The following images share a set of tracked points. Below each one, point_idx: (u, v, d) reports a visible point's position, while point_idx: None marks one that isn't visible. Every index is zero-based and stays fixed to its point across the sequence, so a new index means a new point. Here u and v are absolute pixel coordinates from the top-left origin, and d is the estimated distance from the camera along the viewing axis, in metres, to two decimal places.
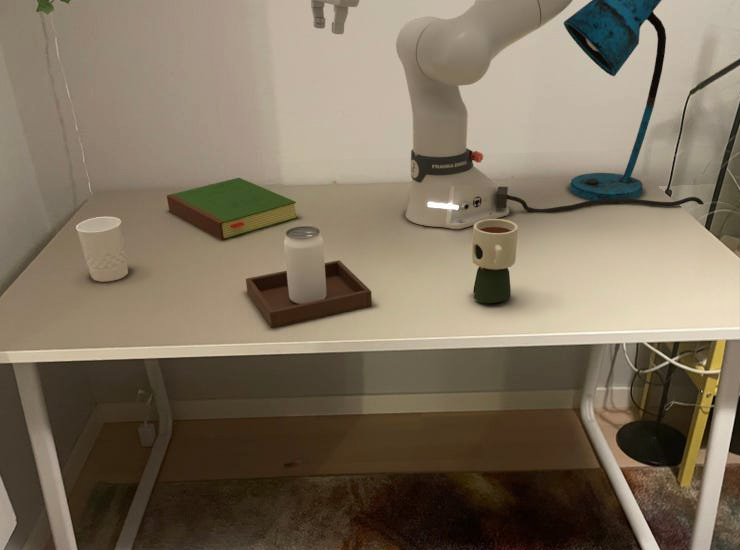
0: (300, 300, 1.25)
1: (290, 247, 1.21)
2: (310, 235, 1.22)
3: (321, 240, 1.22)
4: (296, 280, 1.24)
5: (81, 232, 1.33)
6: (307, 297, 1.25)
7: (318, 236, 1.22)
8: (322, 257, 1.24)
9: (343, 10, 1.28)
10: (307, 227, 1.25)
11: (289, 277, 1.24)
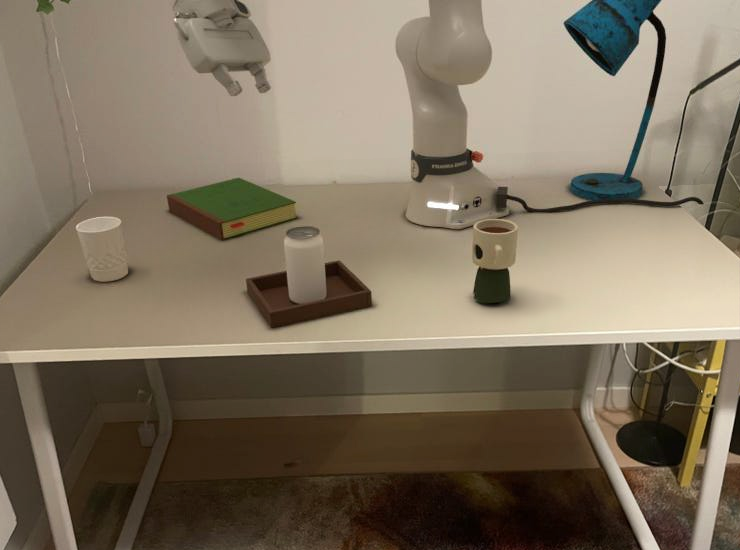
0: (300, 300, 1.25)
1: (290, 247, 1.21)
2: (310, 235, 1.22)
3: (321, 240, 1.22)
4: (296, 280, 1.24)
5: (81, 232, 1.33)
6: (307, 297, 1.25)
7: (318, 236, 1.22)
8: (322, 257, 1.24)
9: (219, 71, 1.16)
10: (307, 227, 1.25)
11: (289, 277, 1.24)
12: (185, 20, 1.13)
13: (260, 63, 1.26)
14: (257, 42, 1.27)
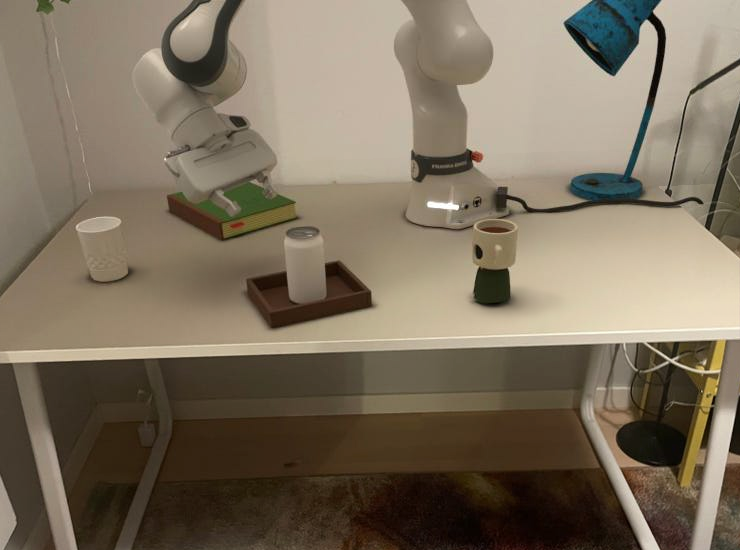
0: (300, 300, 1.25)
1: (290, 247, 1.21)
2: (310, 235, 1.22)
3: (321, 240, 1.22)
4: (296, 280, 1.24)
5: (81, 232, 1.33)
6: (307, 297, 1.25)
7: (318, 236, 1.22)
8: (322, 257, 1.24)
9: (215, 197, 1.21)
10: (307, 227, 1.25)
11: (289, 277, 1.24)
12: (176, 157, 1.19)
13: (265, 170, 1.29)
14: (260, 149, 1.29)
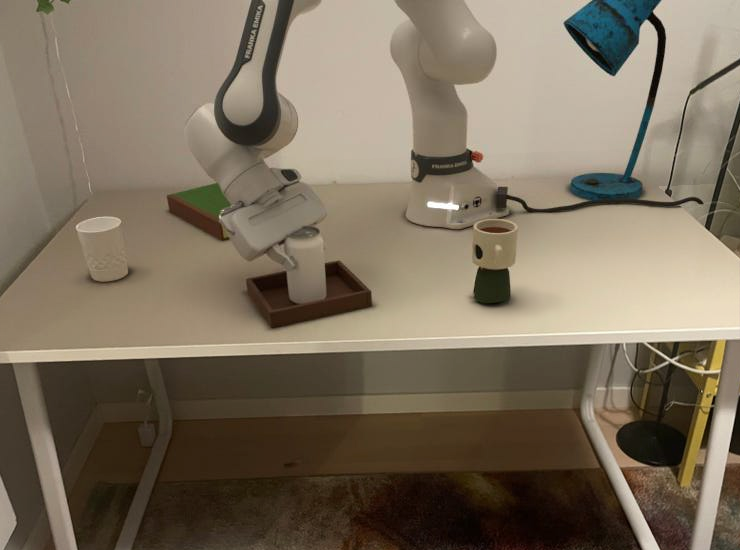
0: (300, 301, 1.25)
1: (290, 247, 1.21)
2: (310, 235, 1.22)
3: (321, 240, 1.22)
4: (296, 280, 1.24)
5: (81, 232, 1.33)
6: (307, 297, 1.25)
7: (318, 236, 1.22)
8: (322, 257, 1.24)
9: (272, 252, 1.20)
10: (307, 227, 1.25)
11: (289, 277, 1.24)
12: (231, 214, 1.18)
13: (316, 223, 1.28)
14: (311, 202, 1.29)
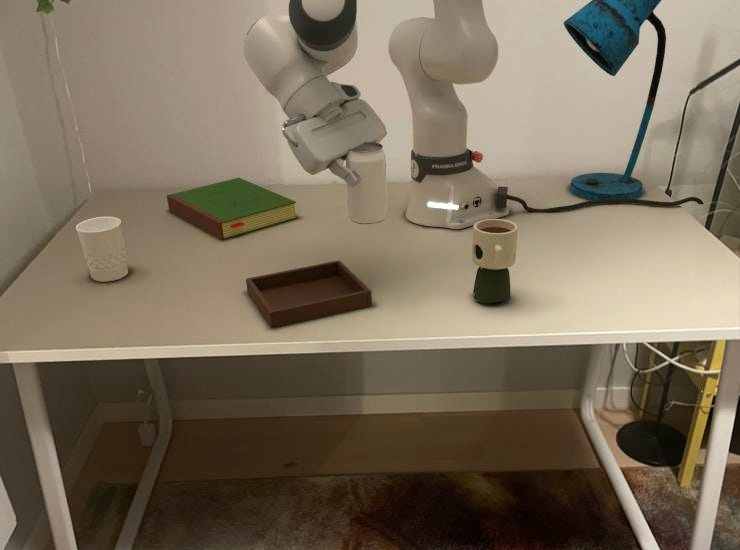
0: (361, 219, 1.22)
1: (353, 161, 1.18)
2: (373, 149, 1.19)
3: (384, 155, 1.19)
4: (358, 197, 1.21)
5: (81, 232, 1.33)
6: (369, 215, 1.22)
7: (381, 150, 1.19)
8: (384, 173, 1.20)
9: (335, 166, 1.17)
10: (368, 144, 1.22)
11: (350, 194, 1.21)
12: (293, 126, 1.15)
13: (376, 141, 1.25)
14: (370, 119, 1.25)
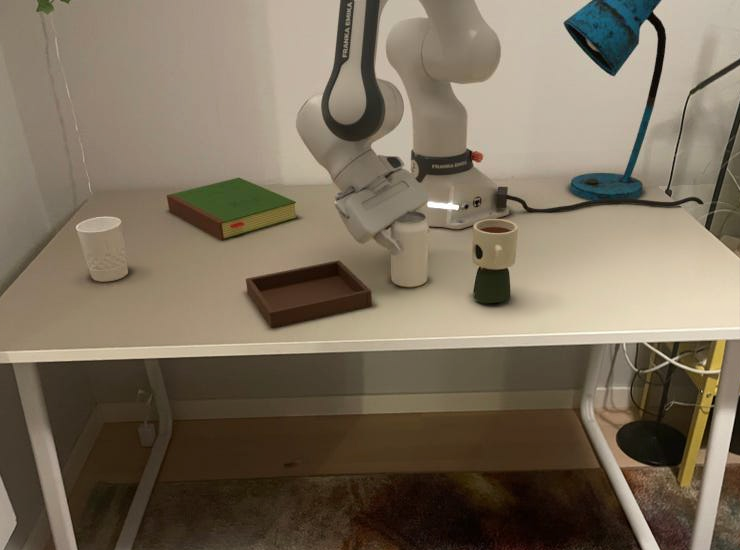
0: (404, 283, 1.31)
1: (398, 231, 1.26)
2: (417, 220, 1.27)
3: (427, 224, 1.28)
4: (401, 263, 1.29)
5: (81, 232, 1.33)
6: (411, 279, 1.30)
7: (424, 221, 1.27)
8: (427, 241, 1.29)
9: (380, 237, 1.25)
10: (411, 213, 1.30)
11: (394, 260, 1.30)
12: (344, 199, 1.24)
13: (418, 208, 1.34)
14: (413, 188, 1.34)
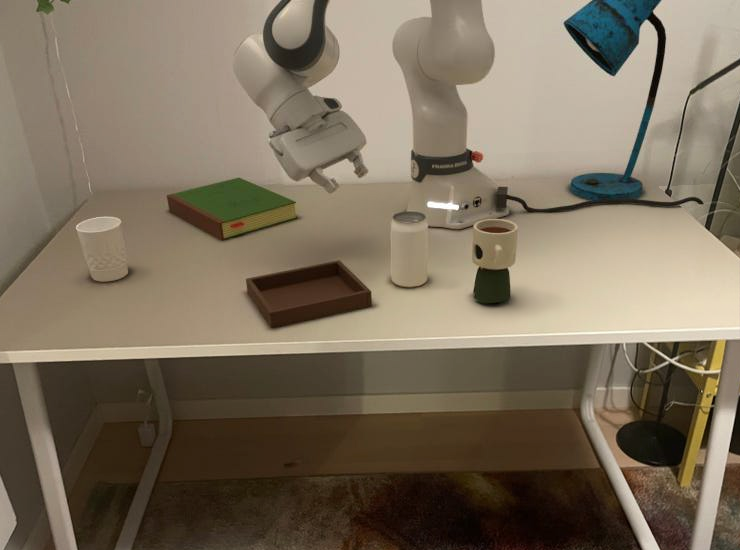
0: (404, 283, 1.31)
1: (398, 231, 1.26)
2: (417, 220, 1.27)
3: (427, 224, 1.28)
4: (401, 263, 1.29)
5: (81, 232, 1.33)
6: (411, 279, 1.30)
7: (424, 221, 1.27)
8: (427, 241, 1.29)
9: (314, 175, 1.27)
10: (411, 213, 1.30)
11: (394, 260, 1.30)
12: (278, 137, 1.26)
13: (356, 150, 1.35)
14: (351, 130, 1.36)
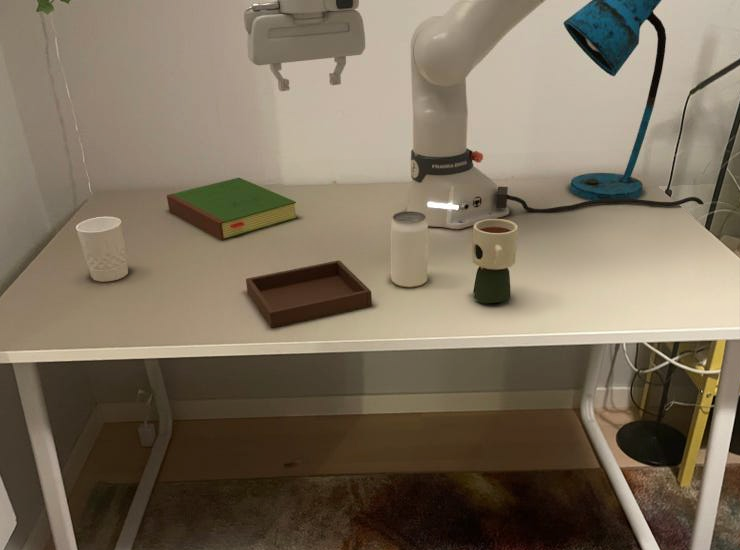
0: (404, 283, 1.31)
1: (398, 231, 1.26)
2: (417, 220, 1.27)
3: (427, 224, 1.28)
4: (401, 263, 1.29)
5: (81, 232, 1.33)
6: (411, 279, 1.30)
7: (424, 221, 1.27)
8: (427, 241, 1.29)
9: (272, 67, 1.26)
10: (411, 213, 1.30)
11: (394, 260, 1.30)
12: (258, 13, 1.21)
13: (343, 57, 1.29)
14: (352, 35, 1.27)
